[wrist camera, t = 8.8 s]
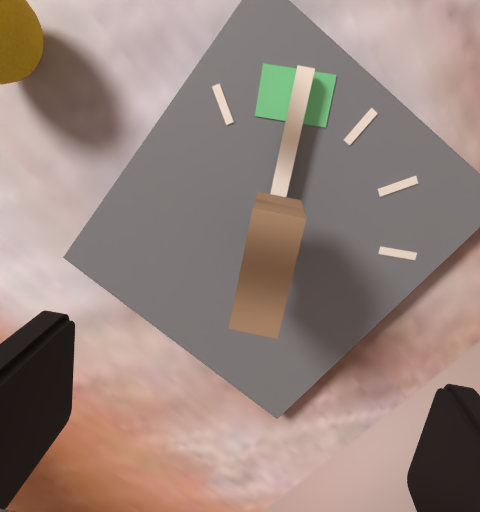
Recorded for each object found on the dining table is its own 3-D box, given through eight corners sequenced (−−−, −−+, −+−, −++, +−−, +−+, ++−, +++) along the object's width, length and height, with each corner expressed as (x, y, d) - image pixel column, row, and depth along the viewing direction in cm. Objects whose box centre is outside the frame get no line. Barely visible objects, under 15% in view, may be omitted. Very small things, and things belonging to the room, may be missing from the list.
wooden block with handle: (278, 277, 28) (277, 339, 20) (243, 270, 28) (228, 328, 20) (325, 73, 24) (349, 43, 16) (285, 65, 24) (287, 32, 16)
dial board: (277, 406, 33) (277, 419, 32) (73, 251, 31) (62, 257, 29) (496, 196, 27) (509, 200, 26) (261, -17, 25) (260, -27, 23)
